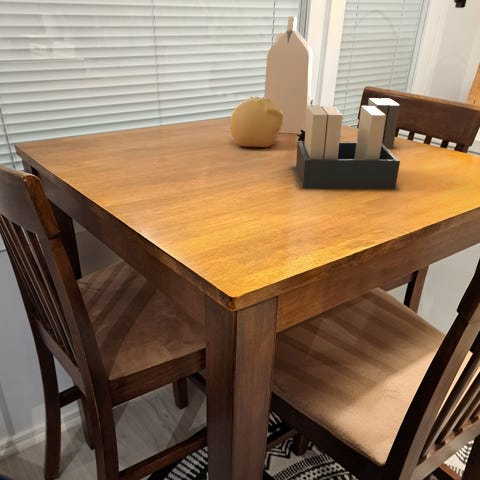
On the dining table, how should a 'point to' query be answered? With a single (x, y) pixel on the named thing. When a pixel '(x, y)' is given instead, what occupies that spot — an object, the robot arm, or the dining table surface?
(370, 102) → the grey book
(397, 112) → the grey book
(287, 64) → the milk
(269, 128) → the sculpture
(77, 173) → the dining table surface
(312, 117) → the white book
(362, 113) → the white book
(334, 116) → the white book
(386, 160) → the book box
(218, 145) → the dining table surface
